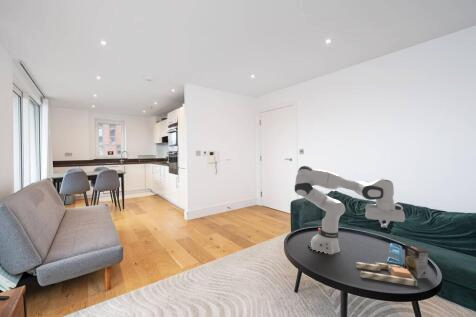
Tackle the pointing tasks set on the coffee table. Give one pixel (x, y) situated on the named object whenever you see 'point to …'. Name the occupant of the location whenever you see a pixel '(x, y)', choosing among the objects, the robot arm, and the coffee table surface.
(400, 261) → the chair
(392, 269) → the terracotta block
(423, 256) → the coffee box
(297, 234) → the coffee table surface
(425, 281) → the coffee table surface
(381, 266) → the birch trap lane
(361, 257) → the coffee table surface
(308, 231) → the coffee table surface
